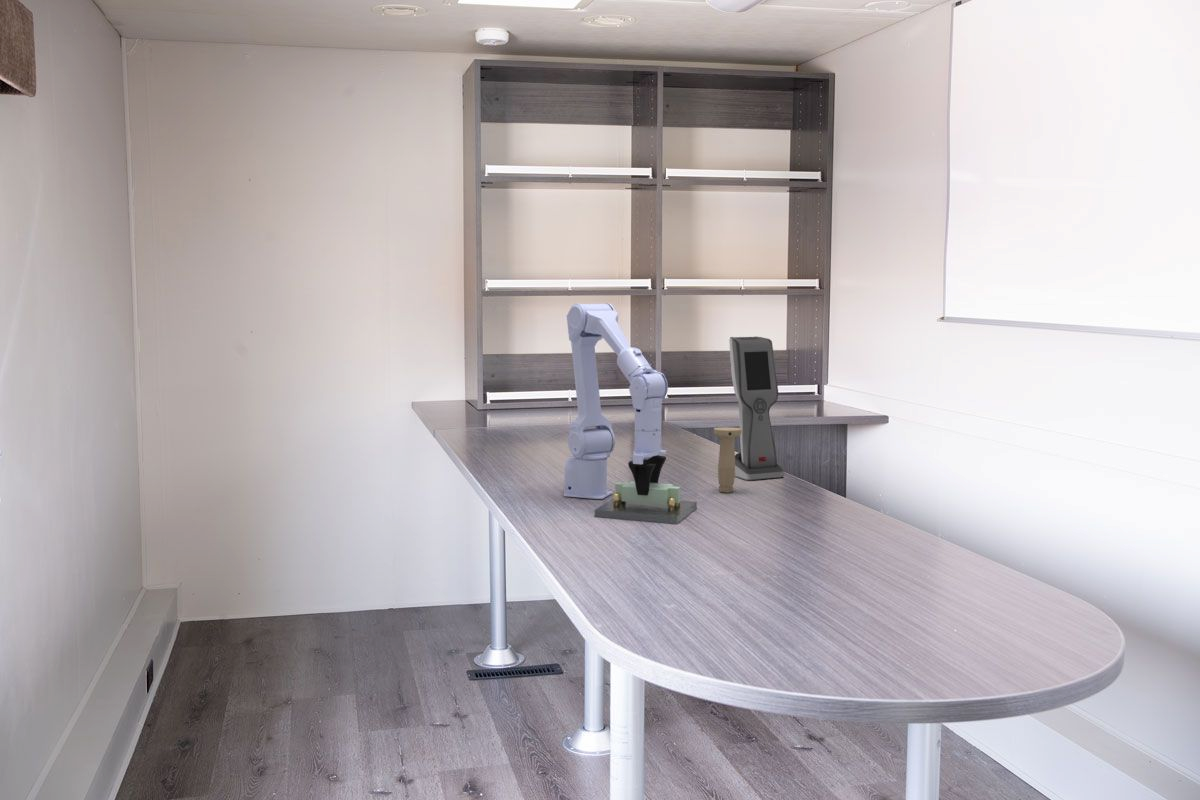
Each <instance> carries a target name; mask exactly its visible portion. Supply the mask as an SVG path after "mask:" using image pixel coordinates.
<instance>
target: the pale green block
mask: <svg viewBox="0 0 1200 800" xmlns="http://www.w3.org/2000/svg"><path fill="white" fill-rule="evenodd" d="M614 489H615V490H614V493H620V499H622V501H626V502H638V503H650V504H663V505H667V504H668V498H675V503H677V504H678V503H679V502H680V500H682V499H681V494H682V493H681V489H682V488H681V486H675V485H674V483H673V484H672V483H664V482H663V483H662V482H661V483H660V482H658V483H650V487H649V492H648V495H638V494H637V490H636V485H635V480H633V481H632V480H629V481H627V482H621V481H617V482H616V483H615V488H614Z"/></svg>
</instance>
